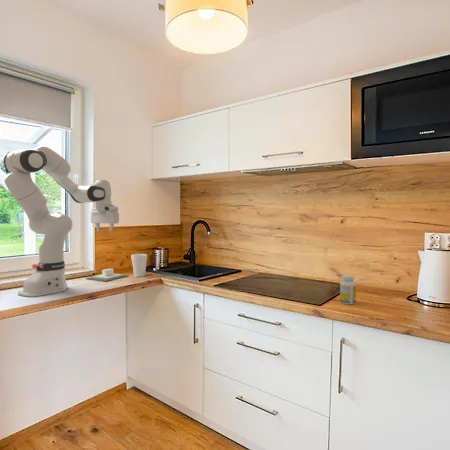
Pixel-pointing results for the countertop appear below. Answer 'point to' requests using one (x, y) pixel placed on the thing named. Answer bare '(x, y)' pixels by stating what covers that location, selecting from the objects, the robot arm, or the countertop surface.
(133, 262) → the foam cup
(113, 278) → the mat
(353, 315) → the countertop surface
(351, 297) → the pill bottle
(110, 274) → the lid
